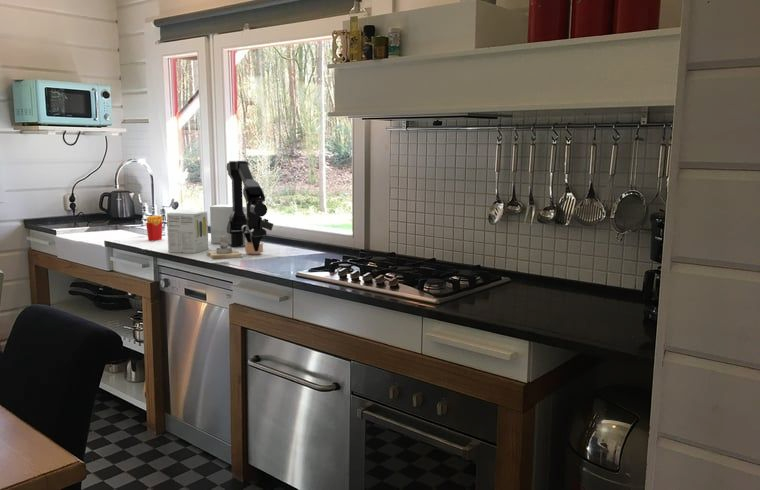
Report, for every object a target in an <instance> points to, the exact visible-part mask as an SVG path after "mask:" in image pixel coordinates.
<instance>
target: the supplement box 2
mask: <svg viewBox="0 0 760 490" xmlns="http://www.w3.org/2000/svg"><path fill="white" fill-rule="evenodd" d="M232 212H233V204H223V203H222V204H215V205H210V206H209V215H210V216H209V217H210V218H209V219H210V243H211V244H221V236H227V245H229V244H231V234H229V233H227V225H228V222H229V217H230V215H231V213H232ZM243 213H244V214H245V215H246V216H247V209H246V204H243ZM231 231H232V230H231ZM234 231H242V230H234ZM243 240H244V244H245V243H248V242H247V240H246V238H245V236H244V234H243Z"/></svg>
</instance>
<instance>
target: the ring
mask: <svg viewBox="0 0 760 490" xmlns="http://www.w3.org/2000/svg"><path fill="white" fill-rule="evenodd" d="M263 245H264V244H263V242H261V241H260V244H259V248H258V251H255V249H254V247H253V244H252V242H248V243H245V246H244V252H245V254H250V255H251V254H261V253H264V248H263Z"/></svg>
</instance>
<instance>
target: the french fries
mask: <svg viewBox="0 0 760 490" xmlns="http://www.w3.org/2000/svg"><path fill="white" fill-rule="evenodd" d="M163 219H164V218H163V216H161V215H158V214H157V215H151V216H147V217H146V223H145V225H146V232H147V233H146V234H147V239H148V241H151V242H153V241H161V240H162V238H163Z"/></svg>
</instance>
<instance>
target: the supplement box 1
mask: <svg viewBox="0 0 760 490" xmlns="http://www.w3.org/2000/svg"><path fill="white" fill-rule="evenodd" d="M208 221H209V220H208V211H207V210H189V209H188V210H186V209H185V210H184V209H182V210H176V211H171V212H167V213H166V223H167V224H166V225H167V247H168V249H167V252H169V253H181V252H183V254H196V253H200V252H203V251H205V250H208V249H209V229H208V228H209V225H208V224H209V223H208Z"/></svg>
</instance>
